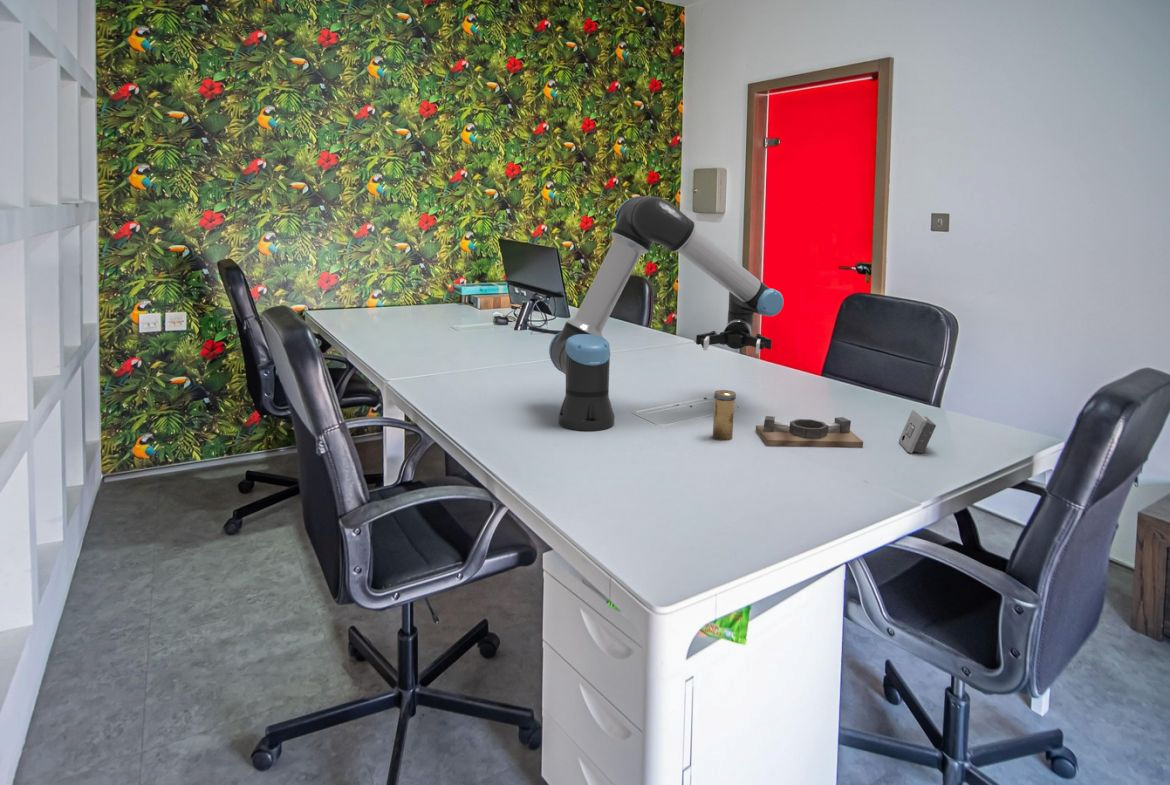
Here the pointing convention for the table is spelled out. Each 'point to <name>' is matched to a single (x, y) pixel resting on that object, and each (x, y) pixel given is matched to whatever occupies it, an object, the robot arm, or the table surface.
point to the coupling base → (808, 433)
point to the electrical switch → (916, 433)
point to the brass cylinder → (723, 414)
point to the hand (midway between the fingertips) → (731, 346)
